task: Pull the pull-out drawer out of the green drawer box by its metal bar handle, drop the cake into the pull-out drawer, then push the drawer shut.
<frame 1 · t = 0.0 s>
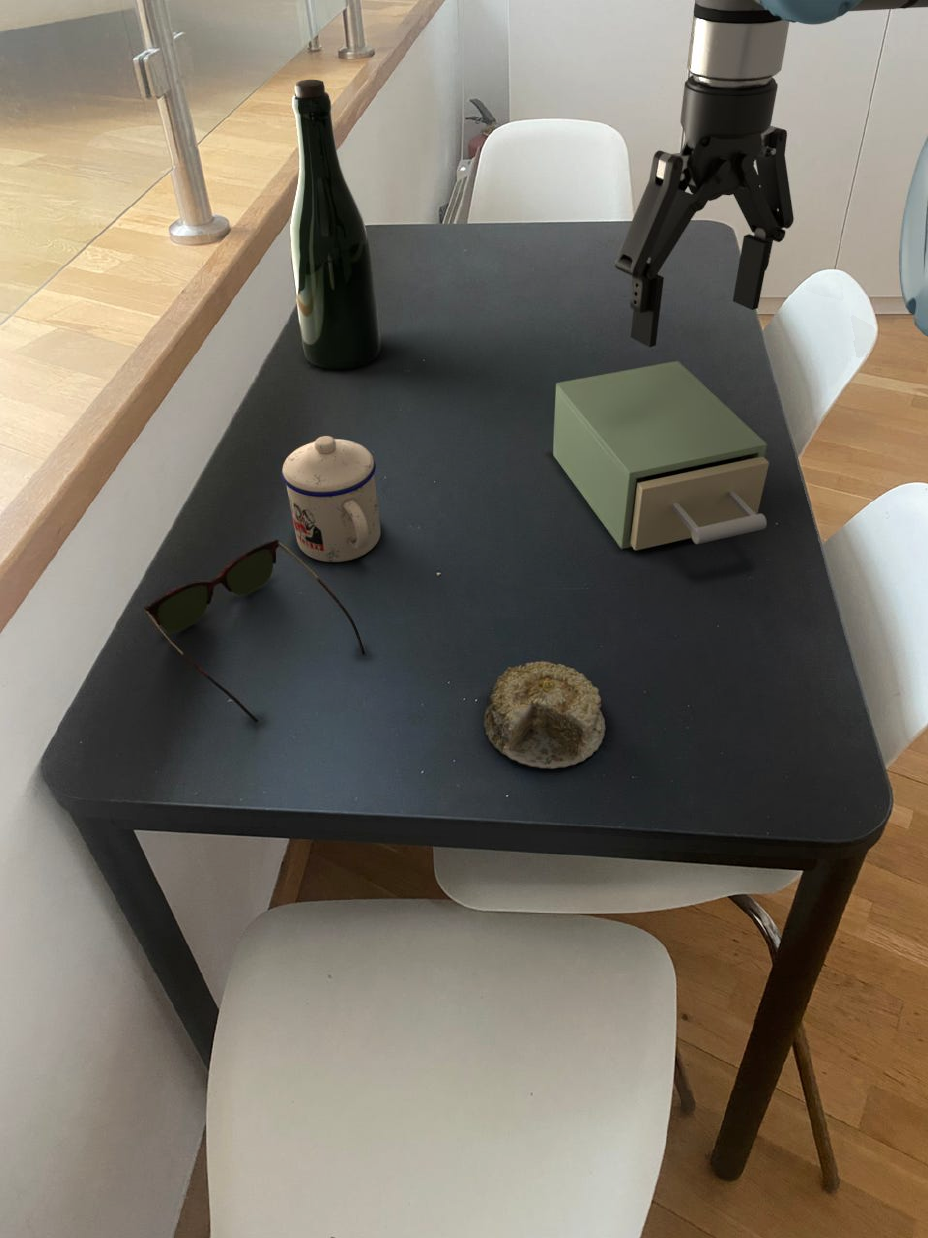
hand: (695, 322, 90), 18 cm above the table, tool pointing down, fingers open, 13 cm apart
green wine bottle: (343, 355, 126), on the table
green drawer box: (646, 485, 100), on the table
teacup with lid: (345, 546, 94), on the table
sunglasses: (265, 647, 84), on the table
pull-out drawer: (673, 475, 94), point 5 cm above the table, slide at 0.5 cm
cake: (544, 726, 76), on the table
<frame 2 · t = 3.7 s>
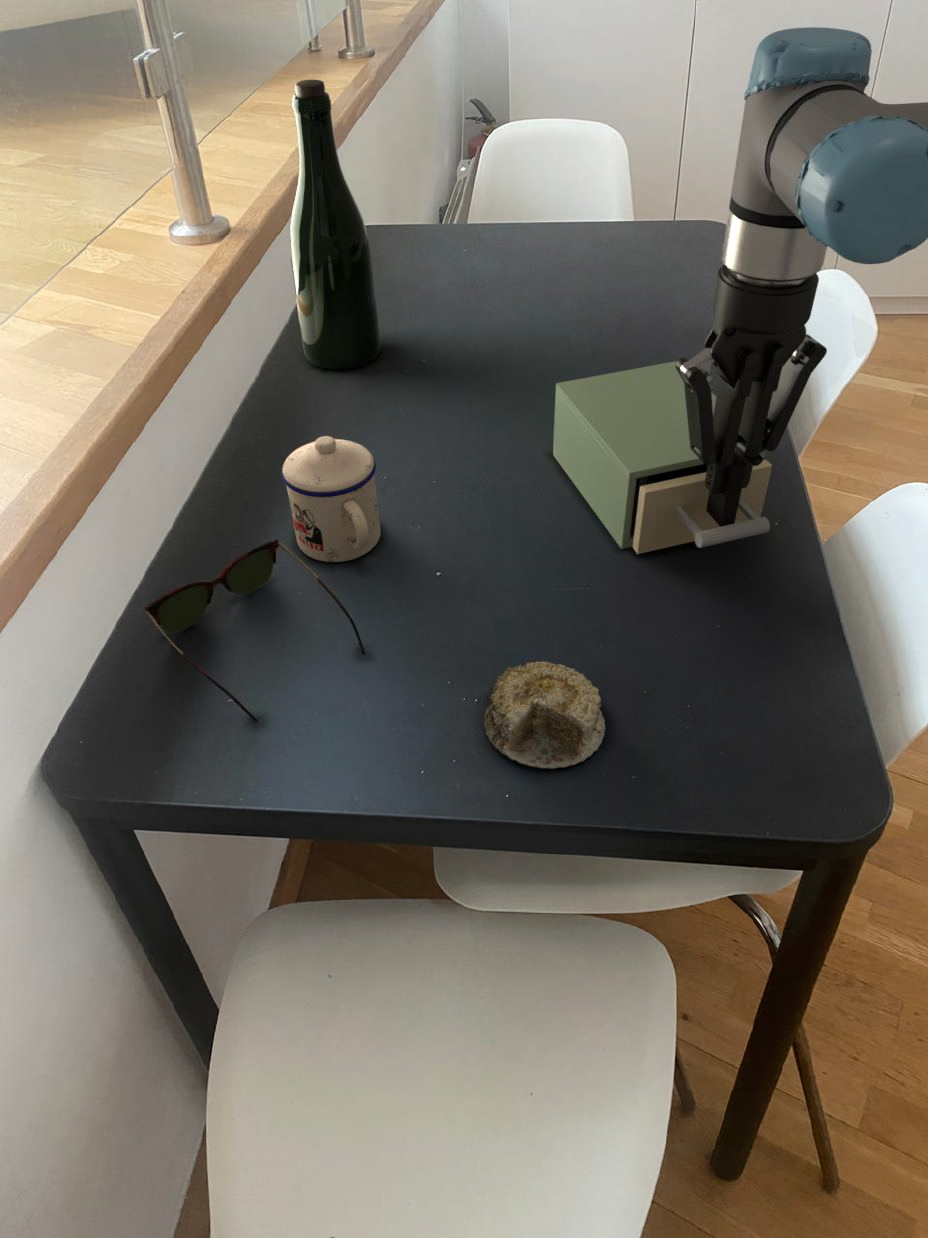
hand: (720, 516, 86), 6 cm above the table, tool pointing down, fingers closed
pull-out drawer: (676, 478, 93), point 5 cm above the table, slide at 1.1 cm, touching gripper
everything else where it was.
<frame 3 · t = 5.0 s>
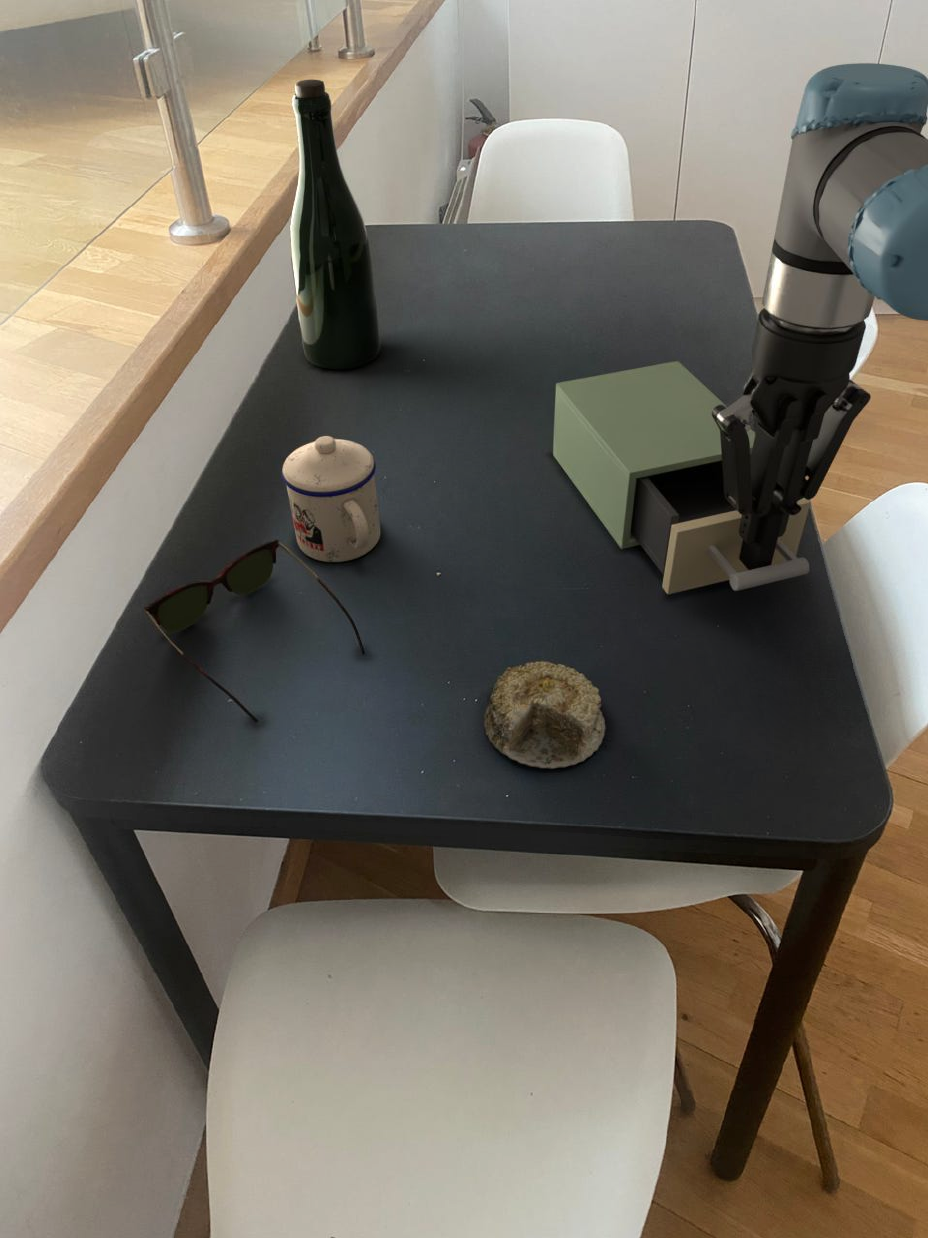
hand: (753, 565, 83), 5 cm above the table, tool pointing down, fingers closed
pull-out drawer: (707, 513, 89), point 5 cm above the table, slide at 7.5 cm, touching gripper
everything else where it was.
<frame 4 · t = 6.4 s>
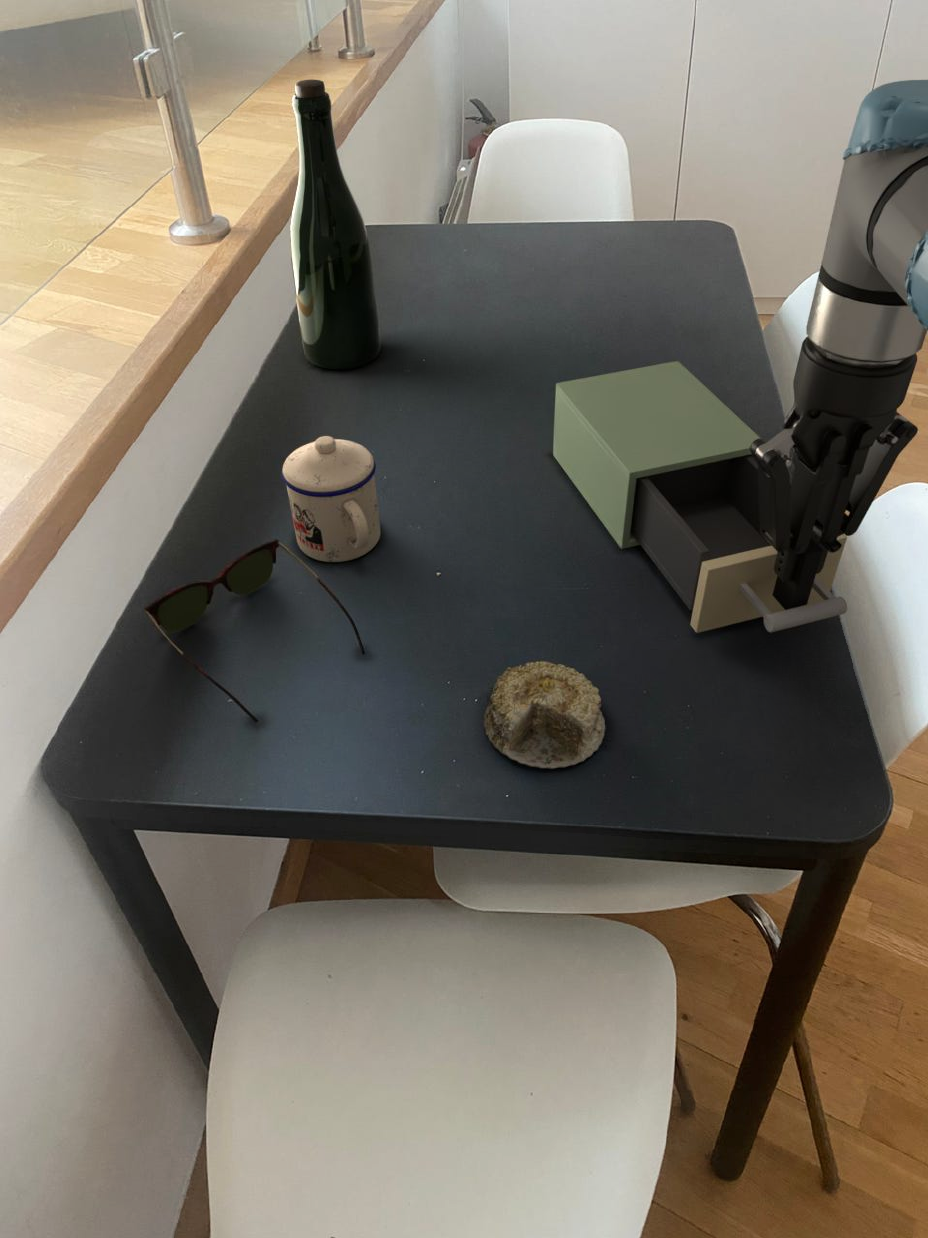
hand: (788, 602, 78), 5 cm above the table, tool pointing down, fingers closed
pull-out drawer: (736, 547, 85), point 5 cm above the table, slide at 13.1 cm, touching gripper
everything else where it was.
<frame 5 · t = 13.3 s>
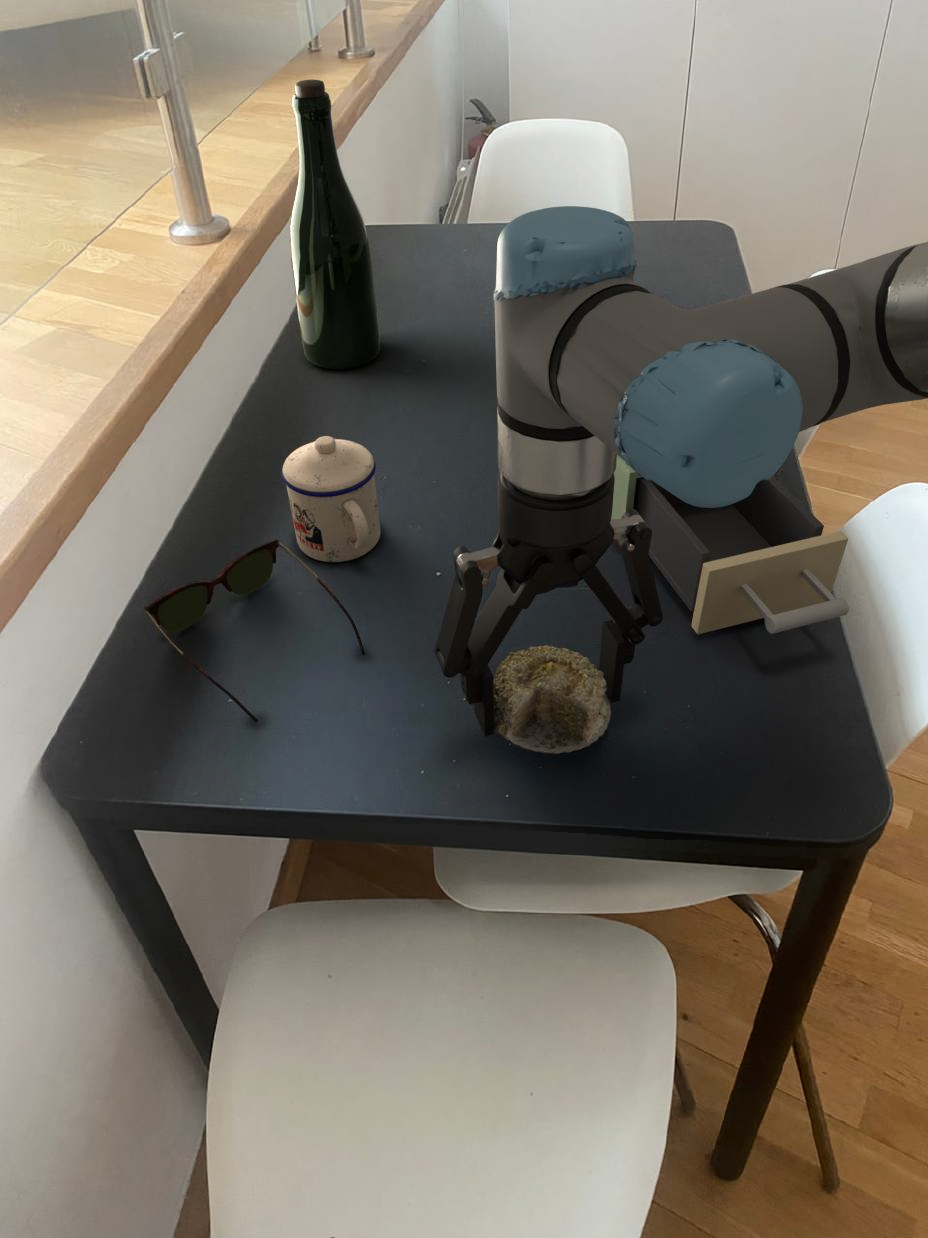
hand: (547, 706, 74), 3 cm above the table, tool pointing down, fingers closed on cake, 10 cm apart
pull-out drawer: (737, 548, 85), point 5 cm above the table, slide at 13.3 cm
cake: (548, 712, 74), point 2 cm above the table, touching gripper
everything else where it was.
when the fingers open (9 cm above the table, at t = 19.6 s): cake drops 6 cm, resting on pull-out drawer.
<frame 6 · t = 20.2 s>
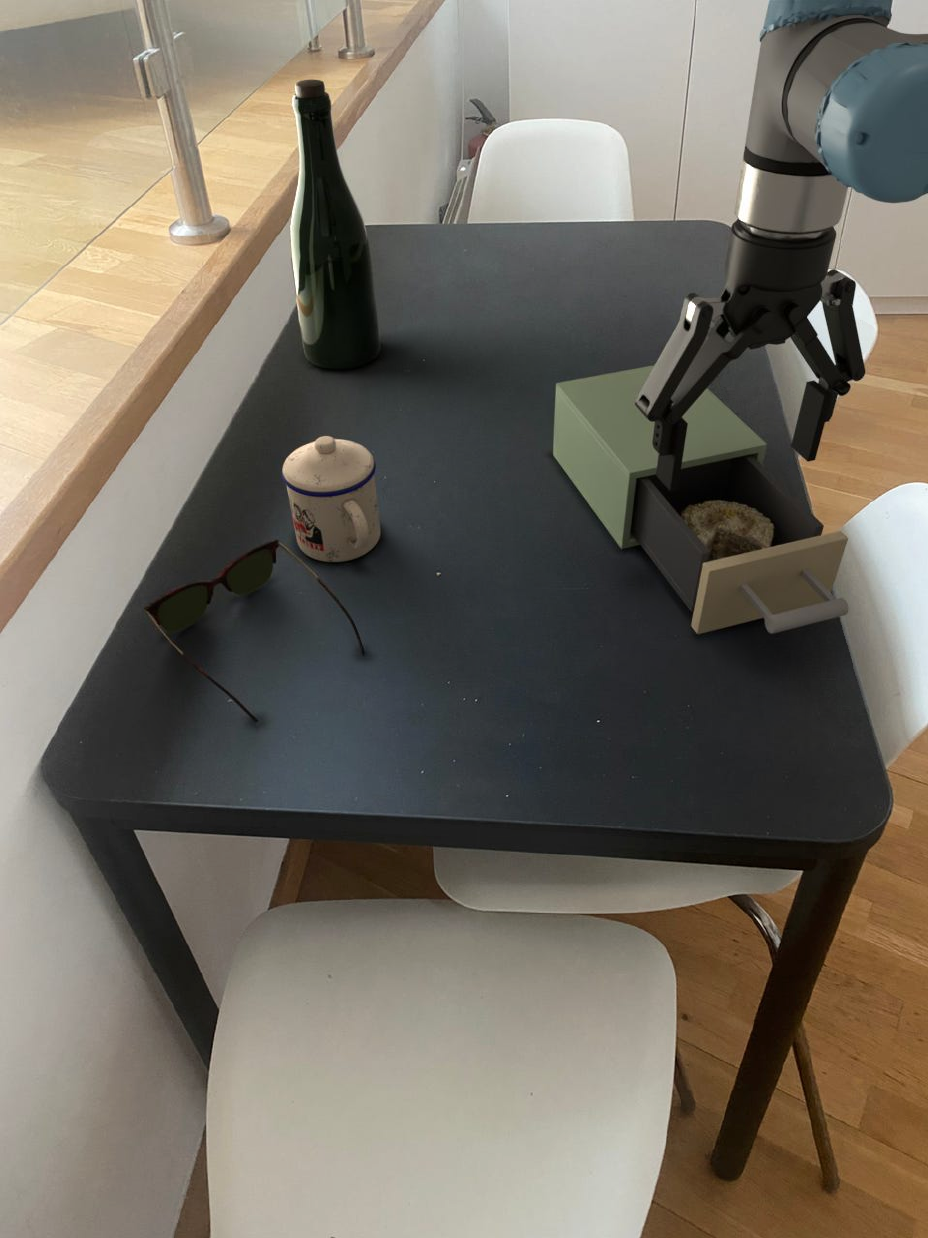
hand: (735, 468, 82), 12 cm above the table, tool pointing down, fingers open, 13 cm apart
pull-out drawer: (737, 548, 85), point 5 cm above the table, slide at 13.2 cm, touching cake
cake: (720, 554, 88), point 2 cm above the table, touching pull-out drawer
everything else where it was.
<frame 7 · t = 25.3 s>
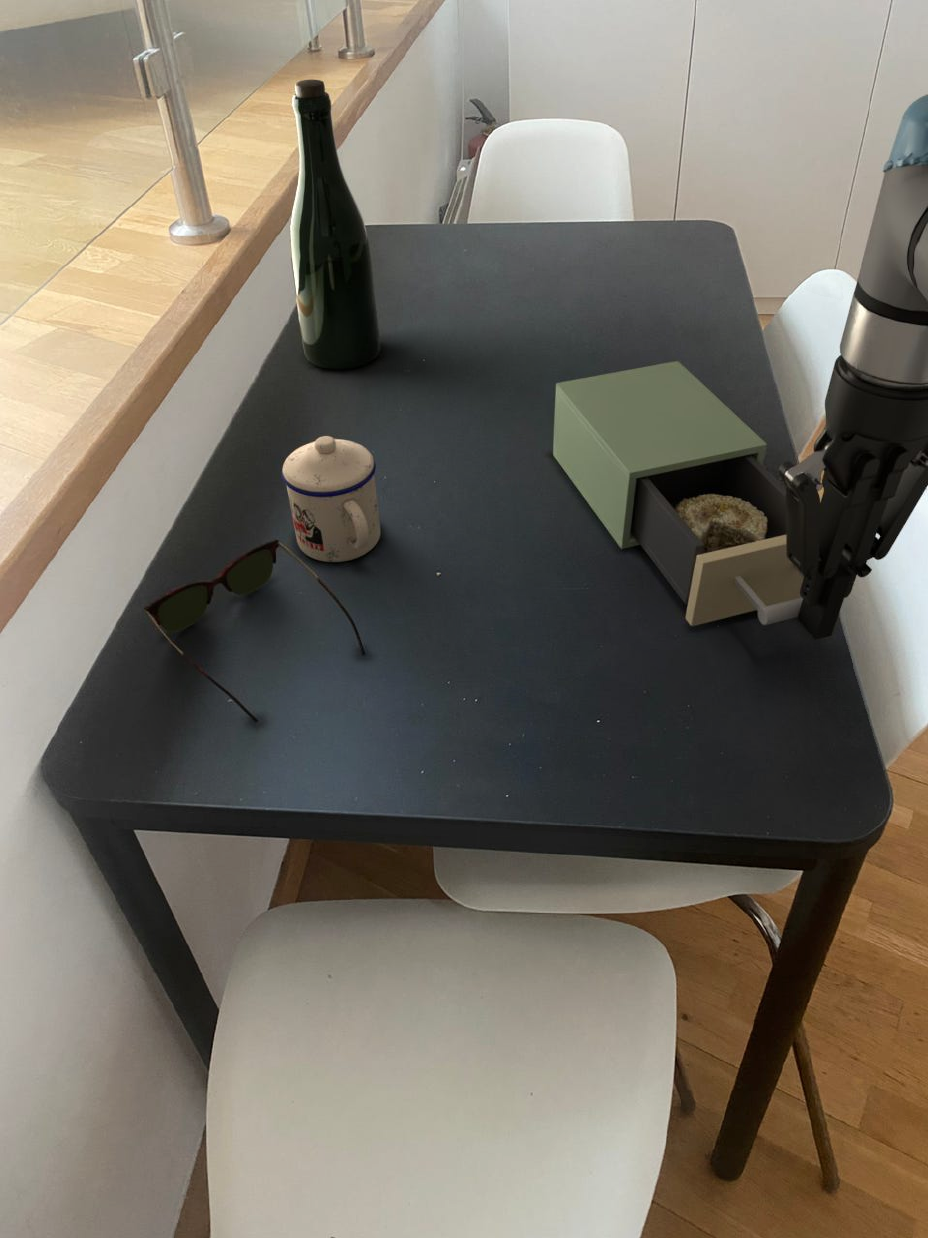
hand: (814, 627, 76), 5 cm above the table, tool pointing down, fingers closed
pull-out drawer: (731, 541, 86), point 5 cm above the table, slide at 12.1 cm, touching cake, gripper
cake: (714, 547, 89), point 2 cm above the table, touching pull-out drawer
everything else where it was.
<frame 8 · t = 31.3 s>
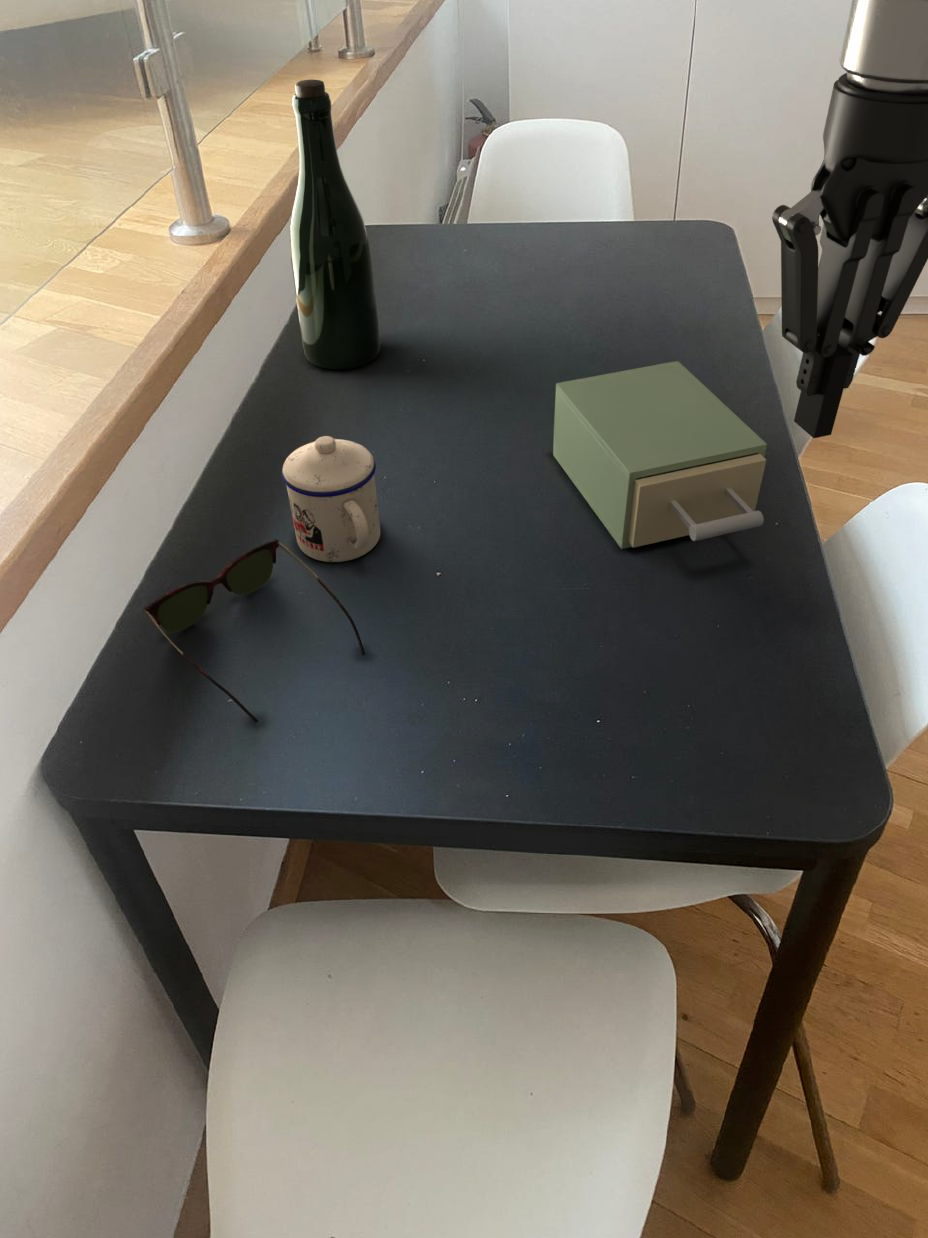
hand: (812, 427, 70), 20 cm above the table, tool pointing down, fingers closed
pull-out drawer: (671, 472, 94), point 5 cm above the table, slide at 0.0 cm, touching cake
cake: (658, 481, 98), point 2 cm above the table, touching pull-out drawer
everything else where it was.
at the end: pull-out drawer pulled out 13.3 cm at the most during the clip, back to where it started at the end; cake inside the target area in the green drawer box (2.0 cm from its centre), point 1.8 cm above the green drawer box's base; pull-out drawer slide at 0.0 cm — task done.
